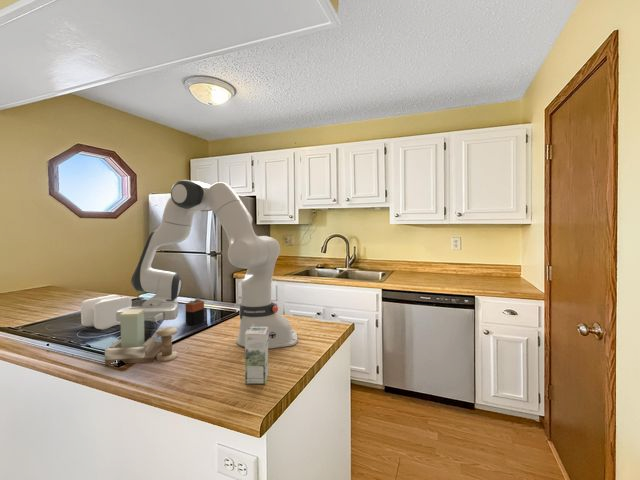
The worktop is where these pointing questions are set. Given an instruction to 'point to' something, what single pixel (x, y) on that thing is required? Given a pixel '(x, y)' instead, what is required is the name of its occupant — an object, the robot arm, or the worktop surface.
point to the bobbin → (166, 344)
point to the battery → (194, 312)
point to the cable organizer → (103, 311)
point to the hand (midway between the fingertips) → (139, 320)
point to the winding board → (133, 352)
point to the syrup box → (256, 355)
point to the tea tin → (132, 328)
